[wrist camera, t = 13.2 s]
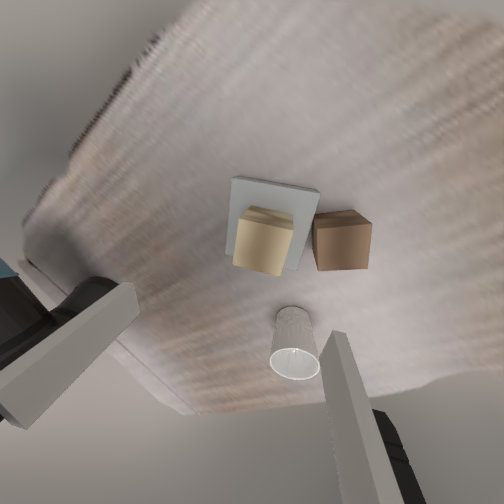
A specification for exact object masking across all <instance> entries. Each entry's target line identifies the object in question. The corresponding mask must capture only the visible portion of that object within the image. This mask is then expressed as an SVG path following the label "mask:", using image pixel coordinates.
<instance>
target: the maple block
mask: <svg viewBox="0 0 504 504" xmlns="http://www.w3.org/2000/svg"><path fill="white" fill-rule="evenodd" d="M293 232H294V227H293V214H288V213H284V212H279V211H275V210H270V209H266V208H261V207H256V206H252V205H251V206H250V207H249V208H248V209H247V210H246V211H245V212H244V214H243V215H242V216H241V217H240V218H239V222H238V229H237V236H236V243H235V250H234V257H233V264H232V265H234V266H238V267H242V268H246V269H250V270H254V271H258V272H262V273H266V274H270V275H274V276H278V277H280V276H281V272H282V269H283V266H284V262H285V259H286V255H287V252H288V249H289V245H290V242H291V239H292V235H293Z"/></svg>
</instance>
